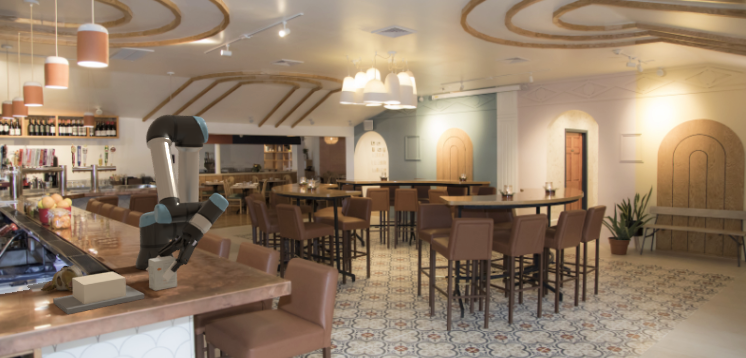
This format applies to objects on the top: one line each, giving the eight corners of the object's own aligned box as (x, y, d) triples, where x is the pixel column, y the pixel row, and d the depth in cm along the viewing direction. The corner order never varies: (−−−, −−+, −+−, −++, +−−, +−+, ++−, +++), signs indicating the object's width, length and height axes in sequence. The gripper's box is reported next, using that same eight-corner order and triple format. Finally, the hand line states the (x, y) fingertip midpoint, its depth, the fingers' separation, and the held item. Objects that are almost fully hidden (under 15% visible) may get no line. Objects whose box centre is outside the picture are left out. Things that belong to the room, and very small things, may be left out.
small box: (171, 283, 175) (170, 255, 175) (177, 286, 171) (176, 257, 171) (148, 287, 170) (148, 258, 169) (154, 291, 166) (153, 261, 165)
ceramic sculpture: (89, 259, 176) (71, 271, 161) (91, 282, 177) (73, 296, 162) (58, 261, 174) (37, 273, 159) (59, 283, 175) (38, 298, 160)
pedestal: (53, 303, 152) (52, 279, 152) (126, 289, 168) (125, 268, 168) (67, 314, 141) (67, 289, 141) (144, 298, 157) (143, 276, 157)
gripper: (219, 238, 172) (179, 287, 162) (187, 231, 190) (150, 275, 179) (205, 225, 168) (164, 275, 158) (174, 219, 185) (135, 263, 175)
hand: (156, 275), depth 169 cm, fingers open, 13 cm apart
